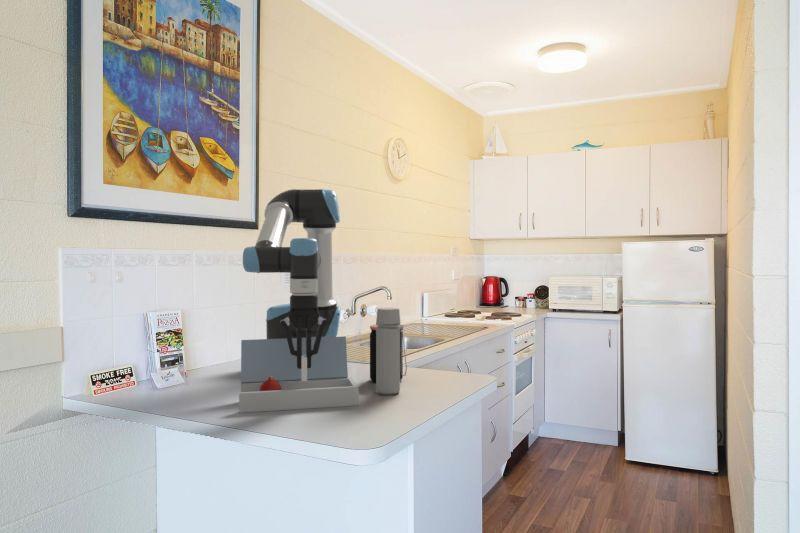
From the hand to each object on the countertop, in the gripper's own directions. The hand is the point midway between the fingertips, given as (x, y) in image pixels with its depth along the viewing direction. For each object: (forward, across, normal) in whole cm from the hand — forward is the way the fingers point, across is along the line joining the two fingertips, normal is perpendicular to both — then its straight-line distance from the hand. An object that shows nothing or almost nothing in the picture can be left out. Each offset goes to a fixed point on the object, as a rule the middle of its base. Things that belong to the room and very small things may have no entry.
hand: (304, 380), depth 153 cm
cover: (+1, -2, +6) cm, 7 cm away
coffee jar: (+6, +28, +22) cm, 36 cm away
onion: (+7, -9, 0) cm, 11 cm away
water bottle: (+6, +26, +6) cm, 28 cm away
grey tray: (+6, -2, 0) cm, 7 cm away
